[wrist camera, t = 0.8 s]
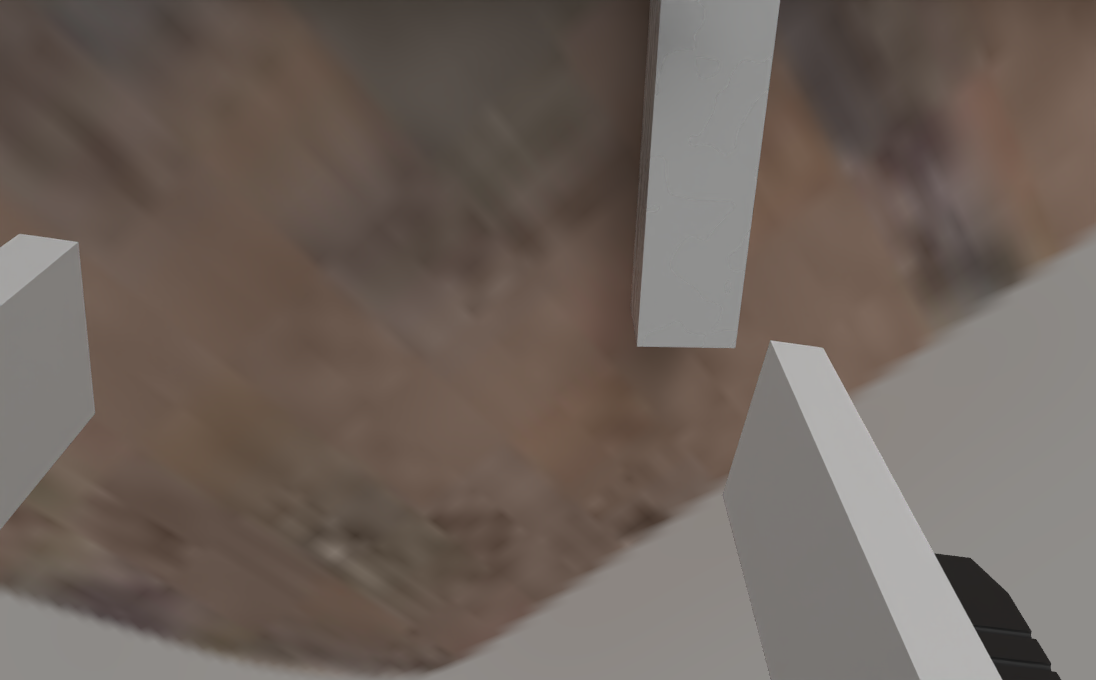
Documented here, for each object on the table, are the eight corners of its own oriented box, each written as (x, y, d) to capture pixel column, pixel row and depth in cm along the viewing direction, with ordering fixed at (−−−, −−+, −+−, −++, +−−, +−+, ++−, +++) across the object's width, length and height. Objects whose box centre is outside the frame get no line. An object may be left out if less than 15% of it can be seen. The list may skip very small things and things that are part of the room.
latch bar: (636, -342, 20) (647, -368, 18) (832, -338, 20) (869, -364, 18) (604, 305, 28) (609, 349, 26) (746, 307, 28) (764, 352, 26)
